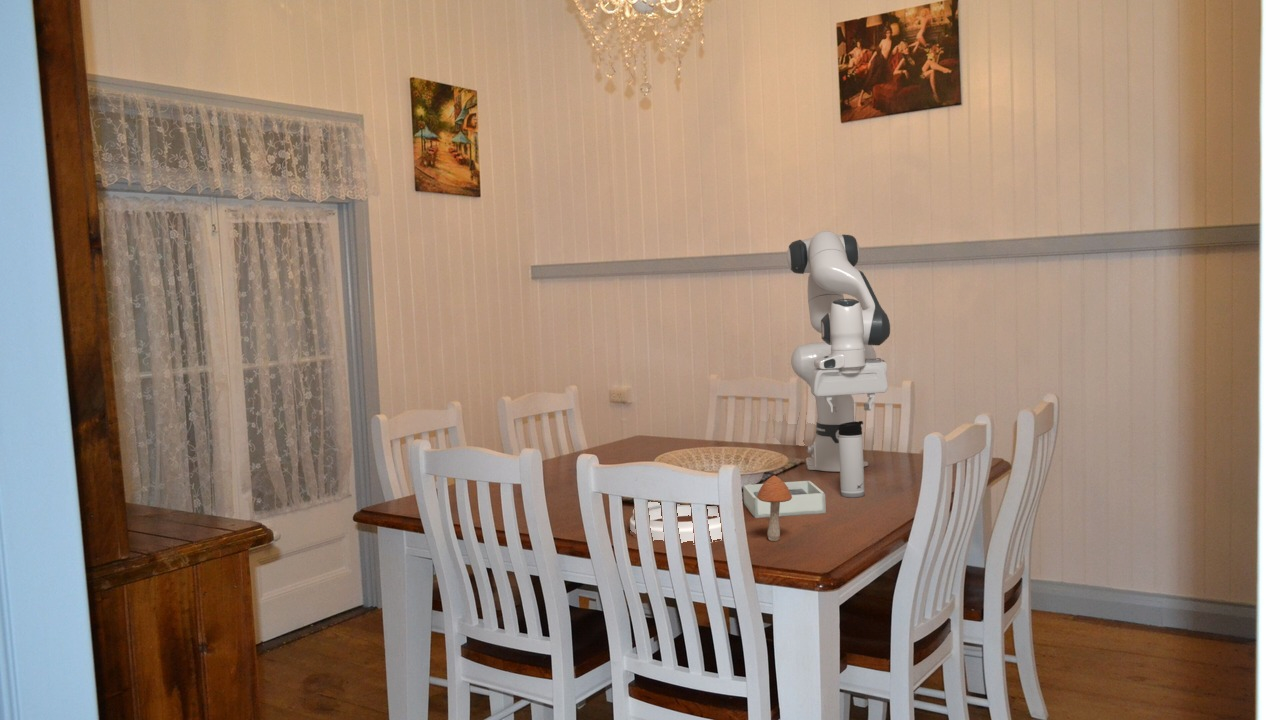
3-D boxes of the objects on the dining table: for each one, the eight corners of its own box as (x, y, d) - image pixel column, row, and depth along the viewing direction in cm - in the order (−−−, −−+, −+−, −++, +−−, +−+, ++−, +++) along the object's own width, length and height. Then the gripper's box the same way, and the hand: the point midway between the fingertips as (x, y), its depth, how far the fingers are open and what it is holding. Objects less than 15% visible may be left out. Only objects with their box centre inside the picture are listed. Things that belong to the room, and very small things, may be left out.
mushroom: (801, 539, 214) (798, 474, 213) (775, 547, 210) (772, 480, 209) (777, 533, 221) (774, 470, 220) (751, 540, 216) (748, 475, 215)
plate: (615, 526, 237) (614, 504, 237) (713, 511, 246) (712, 491, 246) (654, 552, 212) (652, 528, 212) (761, 535, 221) (760, 512, 221)
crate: (743, 503, 252) (743, 485, 252) (810, 498, 253) (809, 480, 253) (755, 518, 236) (754, 498, 236) (825, 513, 237) (825, 493, 237)
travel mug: (866, 497, 251) (863, 423, 250) (840, 497, 253) (838, 423, 251) (865, 492, 257) (862, 419, 256) (840, 492, 259) (837, 420, 257)
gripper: (882, 356, 256) (884, 407, 257) (808, 361, 255) (810, 412, 256) (890, 358, 250) (892, 410, 250) (813, 363, 248) (816, 415, 249)
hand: (850, 411), depth 253 cm, fingers open, 8 cm apart
